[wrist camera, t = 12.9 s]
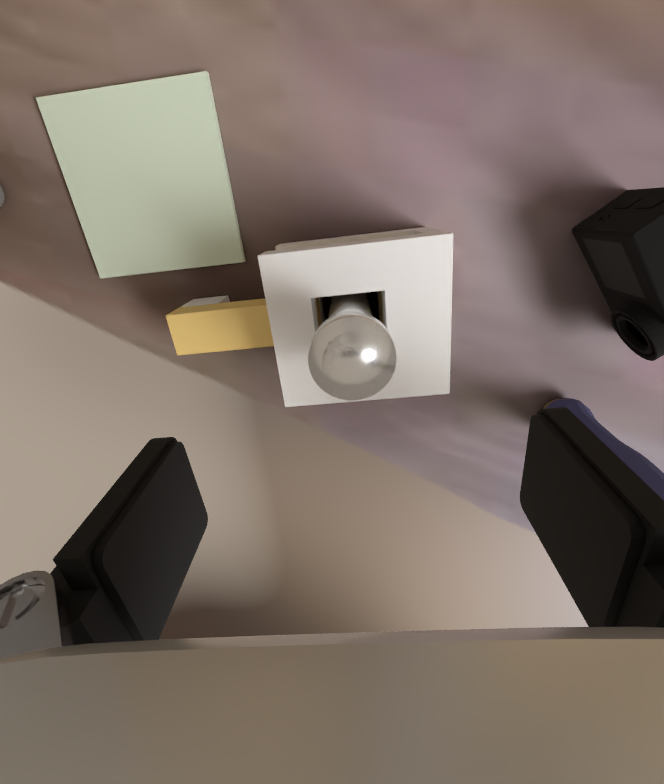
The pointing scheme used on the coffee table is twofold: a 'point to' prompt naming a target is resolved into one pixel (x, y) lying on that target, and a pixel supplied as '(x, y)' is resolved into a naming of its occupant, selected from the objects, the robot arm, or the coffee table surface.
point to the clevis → (330, 278)
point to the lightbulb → (1, 196)
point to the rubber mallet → (615, 445)
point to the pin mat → (147, 174)
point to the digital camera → (630, 265)
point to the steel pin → (351, 350)
